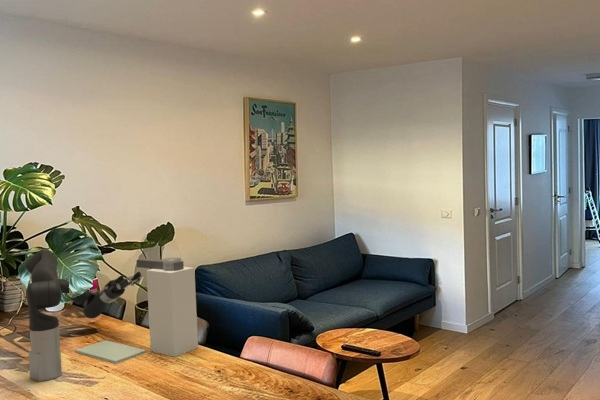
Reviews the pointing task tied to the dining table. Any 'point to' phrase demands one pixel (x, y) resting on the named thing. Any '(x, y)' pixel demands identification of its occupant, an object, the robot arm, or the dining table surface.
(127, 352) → the assembly mat
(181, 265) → the gray mallet
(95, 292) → the pepper mill
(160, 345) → the tower
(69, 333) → the dining table surface
